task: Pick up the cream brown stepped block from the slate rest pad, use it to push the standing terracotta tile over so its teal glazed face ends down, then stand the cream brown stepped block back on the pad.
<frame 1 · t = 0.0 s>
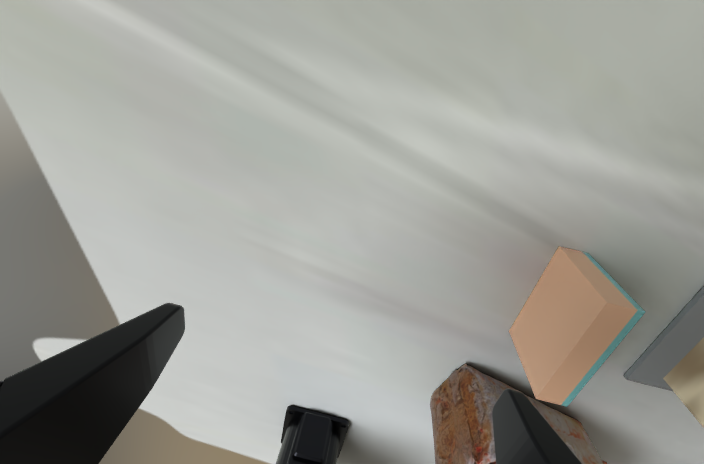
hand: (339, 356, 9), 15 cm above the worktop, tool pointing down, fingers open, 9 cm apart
tile: (545, 294, 24), on the worktop
food item: (504, 407, 31), on the worktop
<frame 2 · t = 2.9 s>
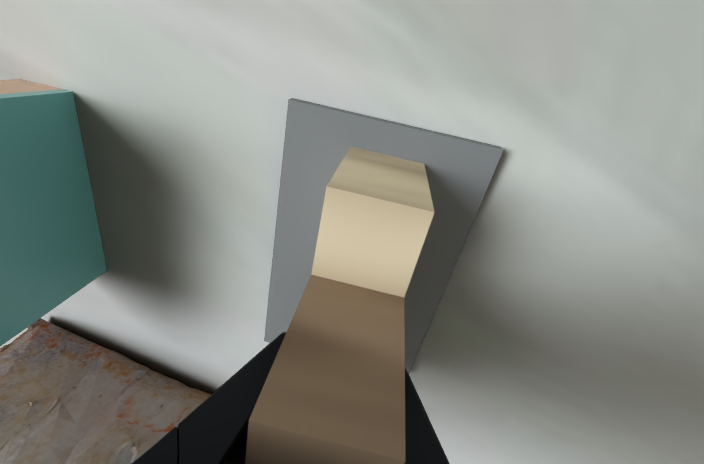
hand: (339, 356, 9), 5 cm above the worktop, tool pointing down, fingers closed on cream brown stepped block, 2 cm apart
tile: (70, 187, 14), on the worktop
rest pad: (360, 259, 13), on the worktop
food item: (155, 390, 20), on the worktop
cream brown stepped block: (359, 265, 13), resting on rest pad, touching gripper
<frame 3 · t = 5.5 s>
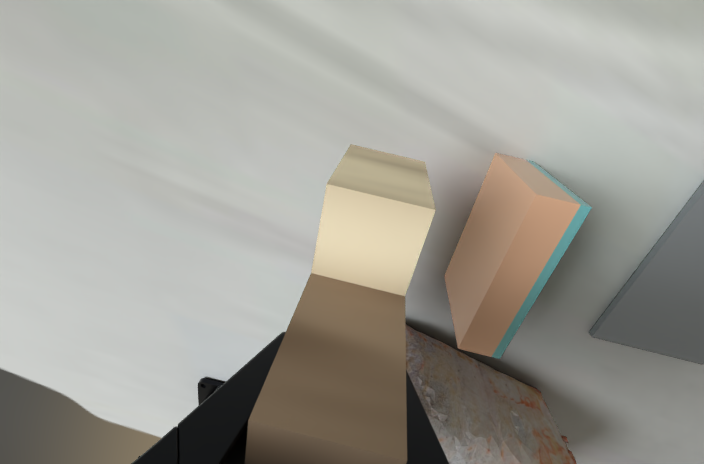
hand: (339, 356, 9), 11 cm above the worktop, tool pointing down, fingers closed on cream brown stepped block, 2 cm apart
tile: (484, 224, 19), on the worktop
rest pad: (703, 277, 19), on the worktop
food item: (449, 375, 25), on the worktop
cream brown stepped block: (359, 263, 13), point 7 cm above the worktop, touching gripper
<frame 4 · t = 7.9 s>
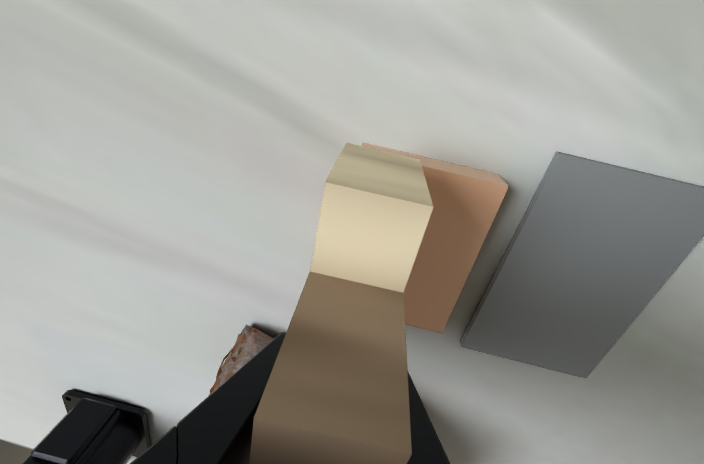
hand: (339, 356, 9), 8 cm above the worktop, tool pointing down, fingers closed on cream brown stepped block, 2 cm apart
tile: (343, 228, 16), point 1 cm above the worktop, tilted 90°
rest pad: (571, 279, 16), on the worktop
food item: (326, 387, 22), on the worktop
cream brown stepped block: (355, 261, 13), point 3 cm above the worktop, touching gripper
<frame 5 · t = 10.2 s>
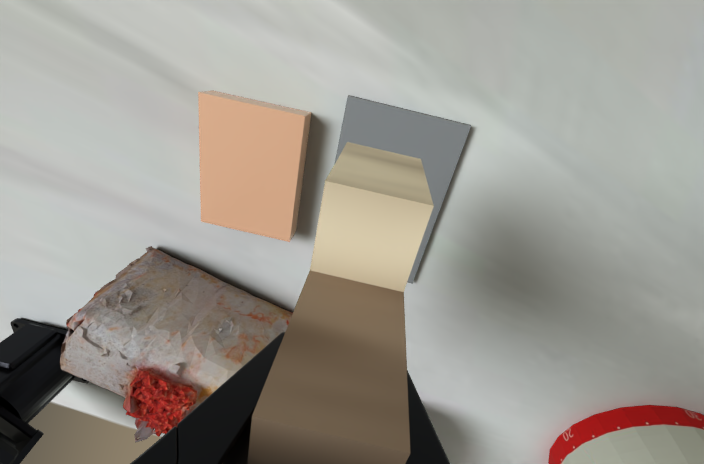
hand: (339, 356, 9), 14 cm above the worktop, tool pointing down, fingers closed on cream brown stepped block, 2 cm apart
tile: (208, 158, 21), on the worktop, tilted 90°
kitchen timer: (631, 454, 30), on the worktop
rest pad: (384, 198, 21), on the worktop
food item: (225, 306, 27), on the worktop
cream brown stepped block: (356, 261, 13), point 9 cm above the worktop, touching gripper
when the fingers open (6 cm above the worktop, at t = 12.1 s): cream brown stepped block stays where it is, resting on rest pad.
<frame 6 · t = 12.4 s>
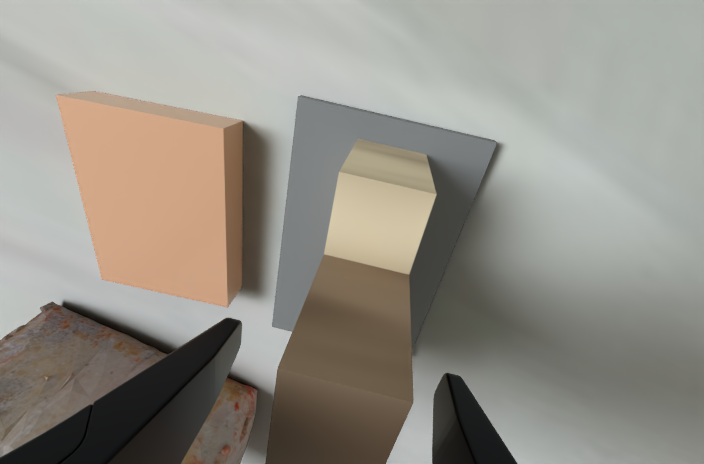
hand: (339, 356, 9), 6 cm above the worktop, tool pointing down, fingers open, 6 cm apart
tile: (102, 191, 14), point 1 cm above the worktop, tilted 90°
rest pad: (363, 247, 14), on the worktop
food item: (163, 372, 21), on the worktop
cream brown stepped block: (365, 251, 14), resting on rest pad
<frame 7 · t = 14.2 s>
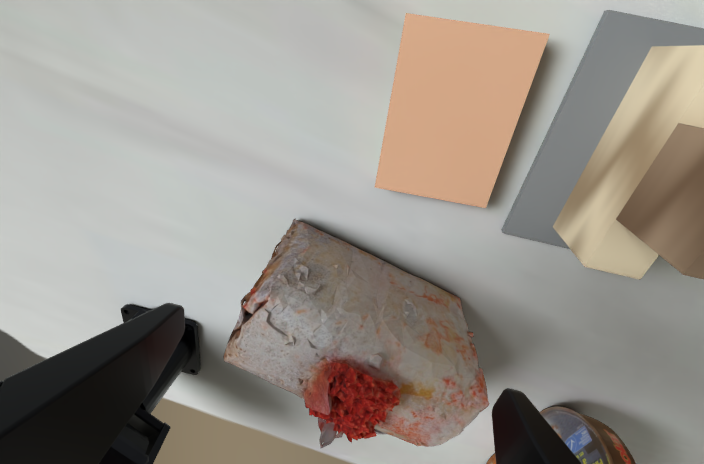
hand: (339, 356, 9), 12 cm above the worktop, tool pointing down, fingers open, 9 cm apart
tile: (389, 107, 17), on the worktop, tilted 90°
rest pad: (613, 153, 17), on the worktop
food item: (368, 288, 24), on the worktop
cream brown stepped block: (621, 154, 16), resting on rest pad
tin: (529, 438, 29), on the worktop
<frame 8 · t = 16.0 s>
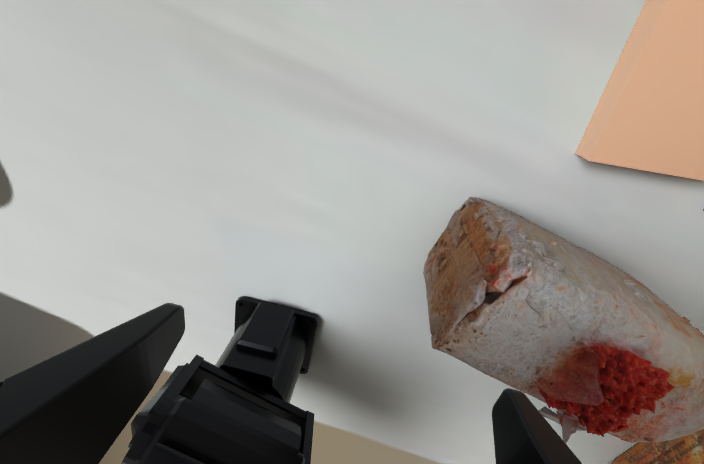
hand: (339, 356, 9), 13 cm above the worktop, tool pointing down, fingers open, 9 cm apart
tile: (618, 73, 16), point 1 cm above the worktop, tilted 90°
food item: (526, 275, 22), on the worktop
tin: (663, 437, 27), on the worktop
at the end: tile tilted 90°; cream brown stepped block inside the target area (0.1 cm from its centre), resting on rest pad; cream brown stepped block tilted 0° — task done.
